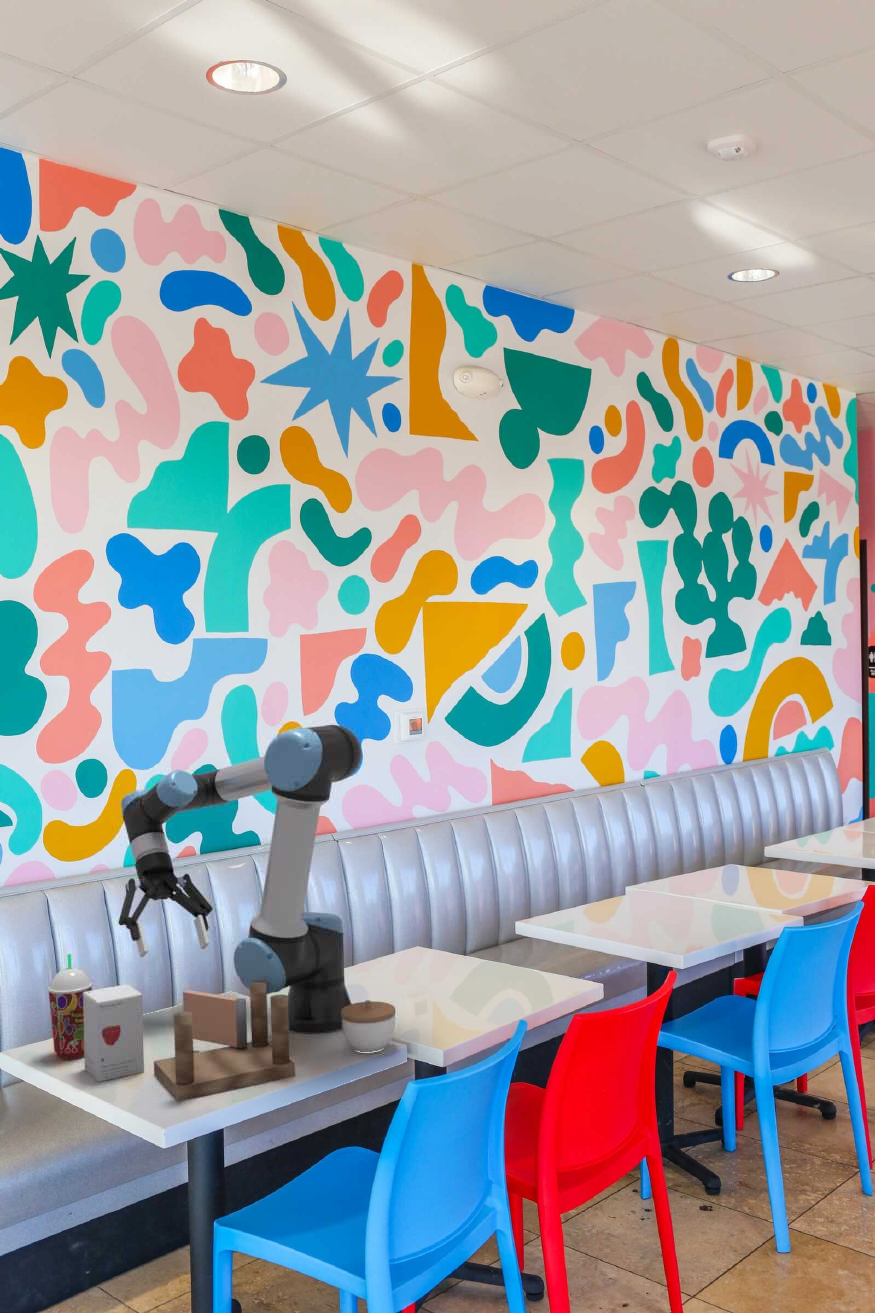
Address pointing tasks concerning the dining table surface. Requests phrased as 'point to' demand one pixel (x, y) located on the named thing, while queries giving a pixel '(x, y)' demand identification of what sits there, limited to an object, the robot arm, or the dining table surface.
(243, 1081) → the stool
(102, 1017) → the supplement box
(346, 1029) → the lidded jar
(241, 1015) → the leg panel
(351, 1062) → the dining table surface
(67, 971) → the smoothie
